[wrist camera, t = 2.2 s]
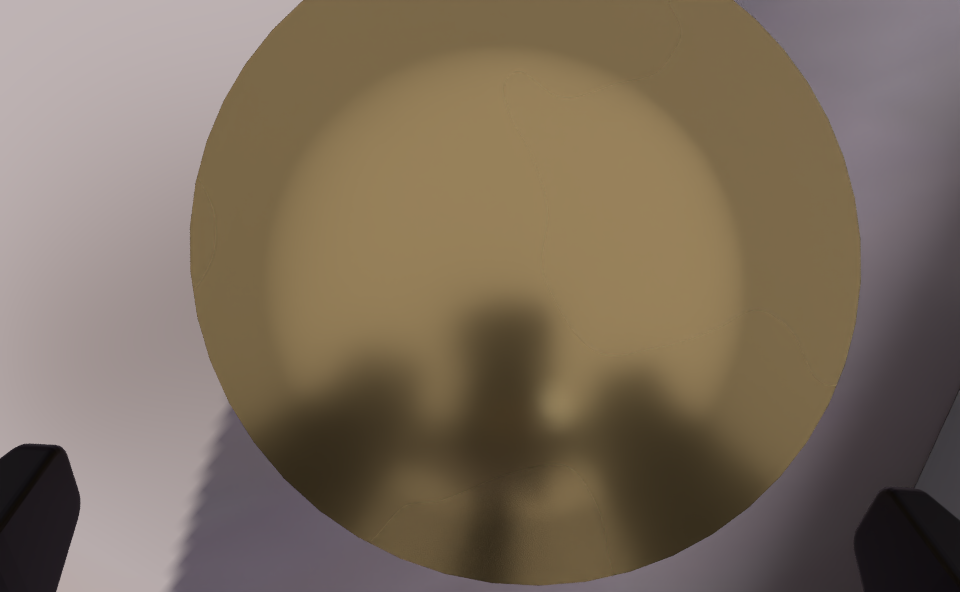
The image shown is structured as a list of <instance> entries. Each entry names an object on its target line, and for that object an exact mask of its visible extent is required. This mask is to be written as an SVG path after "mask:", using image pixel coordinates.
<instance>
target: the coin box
mask: <svg viewBox="0 0 960 592" xmlns="http://www.w3.org/2000/svg"><path fill="white" fill-rule="evenodd" d="M915 488H917V489H920V490H923V491H924V492H926V493H927V494H929V495H930V496H931V497H933V498H934V499H935V500H936V501H937V502H939V503H940V504H941V505H942V506H943V507H945V508H946V509H947V510H948V511H949V512H951V513H952V514H953V515H954V516H955V517H957V518H958V519H959V520H960V390H959V392H958V395H957V397H956V399H955V401H954V403H953V405H952V408H951V410H950V412H949V414H948V416H947V419H946V421H945V423H944V425H943V427H942V429H941V432H940V434H939V436H938V438H937V440H936V443H935V445H934V447H933V449H932V451H931V453H930V456H929V458H928V460H927V462H926V464H925V466H924V469H923V471H922V473H921V475H920V477H919V480H918V482H917V484H916V486H915Z"/></svg>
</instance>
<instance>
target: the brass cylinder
mask: <svg viewBox="0 0 960 592" xmlns="http://www.w3.org/2000/svg"><path fill="white" fill-rule="evenodd" d="M190 262H191V263H190V265H191V266H190V269H191V278H192V284H193V291H194V298H195V305H196V312H197V317H198V321H199V324H200V328H201V331H202V334H203V338H204V341H205V345H206V348H207V351H208V355H209V358H210V361H211V363H212V365H213V368H214V370H215V372H216V374H217V377H218V379H219V381H220V383H221V386H222V388H223V390H224V392H225V395H226V397H227V399H228V401H229V403H230V405H231V406H232V408H233V410H234V411H235V413H236V414H237V416H238V418H239V419H240V421H241V422H242V424H243V426H244V427H245V429H246V430H247V432H248V434H249V435H250V437H251V438H252V440H253V442H254V443H255V444H256V445H257V447H258V448H259V449H260V450H261V451H262V453H263V454H264V455H265V456H266V457H267V459H268V460H269V461H270V462H271V463H272V465H273V466H274V467H275V468H276V469H277V470H278V472H279V473H280V474H281V475H282V476H283V478H284V479H285V480H286V481H288V482H289V483H290V484H291V485H292V486H293V487H294V488H295V489H296V490H297V491H298V492H300V493H301V494H302V495H303V496H304V497H305V498H306V499H307V500H308V501H309V502H311V503H312V504H313V505H314V506H315V507H316V508H317V509H318V510H319V511H321V512H322V513H324V514H325V515H327V516H328V517H330V518H331V519H333V520H334V521H335V522H337V523H338V524H340V525H341V526H343V527H344V528H346V529H347V530H349V531H350V532H351V533H353V534H354V535H356V536H357V537H359V538H361V539H363V540H365V541H367V542H369V543H371V544H373V545H375V546H377V547H379V548H381V549H383V550H385V551H387V552H389V553H391V554H393V555H395V556H397V557H399V558H401V559H404V560H406V561H409V562H412V563H415V564H418V565H421V566H424V567H427V568H430V569H433V570H436V571H439V572H442V573H444V574H449V575H454V576H459V577H464V578H469V579H474V580H480V581H485V582H490V583H502V584H520V585H551V584H563V583H575V582H586V581H591V580H595V579H599V578H604V577H608V576H613V575H617V574H622V573H626V572H631V571H633V570H636V569H639V568H641V567H644V566H647V565H649V564H652V563H655V562H657V561H660V560H663V559H665V558H668V557H670V556H673V555H675V554H677V553H679V552H680V551H682V550H684V549H686V548H688V547H690V546H692V545H693V544H695V543H697V542H699V541H701V540H703V539H704V538H706V537H708V536H710V535H712V534H713V533H715V532H716V531H717V530H719V529H720V528H722V527H723V526H724V525H726V524H727V523H728V522H730V521H731V520H732V519H734V518H735V517H736V516H738V515H739V514H740V513H742V512H743V511H745V510H746V509H747V508H749V507H750V506H751V505H752V504H753V503H754V502H755V501H756V500H757V499H758V498H759V497H760V496H761V495H762V494H763V493H764V492H765V491H766V490H767V489H768V488H769V487H770V486H771V485H772V484H773V483H774V482H775V481H776V480H777V479H778V478H779V477H780V476H781V475H782V474H783V472H784V471H785V470H786V468H787V467H788V466H789V465H790V463H791V462H792V461H793V459H794V458H795V457H796V456H797V454H798V453H799V452H800V450H801V449H802V448H803V447H804V445H805V444H806V443H807V441H808V439H809V438H810V436H811V434H812V432H813V431H814V429H815V427H816V426H817V424H818V422H819V420H820V419H821V417H822V415H823V413H824V412H825V410H826V408H827V406H828V405H829V402H830V400H831V397H832V395H833V393H834V390H835V388H836V385H837V383H838V380H839V378H840V375H841V373H842V370H843V368H844V366H845V362H846V358H847V354H848V351H849V347H850V343H851V339H852V335H853V331H854V327H855V324H856V315H857V307H858V299H859V291H860V283H861V260H860V233H859V226H858V219H857V211H856V204H855V197H854V194H853V190H852V186H851V182H850V179H849V175H848V171H847V167H846V164H845V160H844V157H843V154H842V152H841V149H840V147H839V144H838V142H837V140H836V137H835V135H834V132H833V130H832V127H831V125H830V122H829V120H828V118H827V116H826V114H825V113H824V111H823V109H822V107H821V105H820V104H819V102H818V100H817V98H816V96H815V95H814V93H813V91H812V89H811V87H810V86H809V84H808V82H807V81H806V79H805V78H804V77H803V75H802V74H801V73H800V71H799V70H798V68H797V67H796V66H795V64H794V63H793V62H792V60H791V59H790V57H789V56H788V55H787V53H786V52H785V51H784V49H783V48H782V47H781V46H780V45H779V44H778V43H777V42H776V41H775V40H774V39H773V37H772V36H771V35H770V34H769V33H768V32H767V31H766V30H765V29H764V28H763V27H762V26H761V25H760V23H759V22H758V21H757V20H756V19H755V18H753V17H752V16H751V15H750V14H749V13H748V12H746V11H745V10H744V9H743V8H742V7H740V6H739V5H738V4H737V3H736V2H735V1H733V0H303V1H302V2H301V3H300V4H299V5H298V6H297V7H296V8H295V9H294V10H293V11H292V12H291V13H290V14H288V16H286V17H285V18H284V19H283V20H282V21H281V22H280V23H279V24H278V25H277V26H276V27H275V28H274V29H273V30H272V31H271V32H270V34H269V35H268V36H267V38H266V39H265V40H264V41H263V42H262V44H261V45H260V46H259V47H258V49H257V50H256V51H255V53H254V54H253V55H252V56H251V58H250V59H249V60H248V61H247V63H246V64H245V66H244V67H243V69H242V71H241V72H240V74H239V76H238V78H237V79H236V81H235V83H234V84H233V86H232V88H231V90H230V91H229V93H228V95H227V96H226V98H225V100H224V102H223V104H222V106H221V109H220V111H219V113H218V116H217V118H216V120H215V123H214V125H213V128H212V130H211V132H210V135H209V137H208V139H207V143H206V146H205V150H204V154H203V157H202V161H201V165H200V169H199V173H198V176H197V180H196V184H195V192H194V200H193V207H192V215H191V223H190Z"/></svg>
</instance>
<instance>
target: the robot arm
mask: <svg viewBox="0 0 960 592" xmlns="http://www.w3.org/2000/svg"><path fill="white" fill-rule="evenodd" d="M79 511H80V494H79V491H78V487H77V485H76V481H75V478H74V475H73V472H72V469H71V465H70V462H69V459H68V456H67V454H66V451H65V450H64V449H63V448H62V447H60V446H57V445H45V444H23V445H20V446H18V447H15V448H14V449H12V450H11V451H10V452H8V453H7V454H6V455H4V456H3V457H2V458H0V592H56V590H57V587H58V583H59V580H60V577H61V574H62V570H63V567H64V564H65V560H66V557H67V553H68V550H69V547H70V543H71V540H72V537H73V534H74V530H75V527H76V524H77V520H78V516H79ZM854 551H855V556H856V560H857V565H858V569H859V573H860V577H861V581H862V586H863V590H864V592H960V520H959V519H958V518H957V517H955V516H954V515H953V514H952V513H951V512H949V511H948V510H947V509H946V508H945V507H943V506H942V505H941V504H940V503H939V502H937V501H936V500H935V499H934V498H933V497H931V496H930V495H929V494H927V493H926V492H924V491H923V490H920V489H917V488H904V487H885V488H884V489H882V490H880V491H879V492H878V494H877V495H876V497H875V498H874V500H873V502H872V504H871V505H870V507H869V509H868V510H867V512H866V514H865V515H864V517H863V519H862V521H861V522H860V524H859V526H858V527H857V529H856V532H855V536H854Z"/></svg>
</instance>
